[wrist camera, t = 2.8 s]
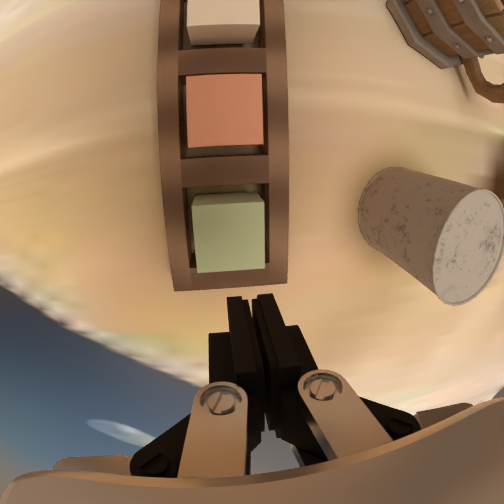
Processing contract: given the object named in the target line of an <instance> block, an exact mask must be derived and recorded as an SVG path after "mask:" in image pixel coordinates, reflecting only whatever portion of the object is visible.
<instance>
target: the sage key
mask: <svg viewBox="0 0 504 504" xmlns="http://www.w3.org/2000/svg"><path fill="white" fill-rule="evenodd" d="M191 207H192V220H193V232H194V243H195V254H196V264H197V273H206V272H221V271H235V270H249V269H263V268H265V223H264V201H263V200H262V199H261V198H260V196H259V195H258V194H257V193H256V192H235V193H217V194H202V195H195V197H194V200H193V203H192V206H191Z"/></svg>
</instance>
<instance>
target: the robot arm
mask: <svg viewBox="0 0 504 504" xmlns="http://www.w3.org/2000/svg"><path fill="white" fill-rule="evenodd" d="M227 308H228V320H229V332H222V333H209V384H208V385H206V386H204V387H202V388H201V389H200V390H199V391H198V392H197V394H196V396H195V398H194V403H193V407H192V412H191V413H190V414H189V415H188V416H186V417H185V418H184V419H182V420H181V421H180V422H178V423H177V424H175V425H174V426H173V427H171V428H170V429H169V430H167V431H166V432H165V433H163V434H162V435H160V436H159V437H158V438H156V439H155V440H153V441H152V442H150V443H149V444H147V445H146V446H144V447H143V448H142V449H140V450H139V451H138V452H137V453H135V454H134V455H133V456H128V457H125V455H124V454H117V455H105V456H90V457H89V456H88V457H66V458H62V459H60V460H59V461H57V462H56V464H55V465H54V466H53V469H52V470H42V471H35V472H30V473H26V474H23V475H20V476H18V477H17V478H15V479H14V480H13V481H12V482H11V483H10V484H9V486H8V487H7V489H6V490H5V492H4V494H3V496H2V499H1V501H0V504H504V397H502V398H497V399H492V400H489V401H486V402H482V403H480V404H477V405H475V406H473V405H472V404H469V403H459V404H455V405H450V406H446V407H441V408H436V409H431V410H425V411H420V412H416V414H415V415H411V414H409V413H407V412H404V411H401V410H398V409H395V408H392V407H388V406H385V405H382V404H379V403H376V402H373V401H370V400H368V399H365V398H362V397H359V396H358V395H357V394H356V392H355V391H354V390H353V389H352V387H351V386H350V385H349V383H348V382H347V381H346V380H345V379H344V378H343V377H342V376H341V375H340V374H338V373H336V372H334V371H330V370H322V369H318V367H317V365H316V363H315V361H314V359H313V356H312V354H311V352H310V350H309V348H308V345H307V343H306V341H305V339H304V337H303V335H302V332H301V330H300V328H299V326H298V325H293V326H285V323H284V321H283V318H282V316H281V313H280V311H279V308H278V306H277V303H276V301H275V298H274V296H273V294H272V293H271V294H260V295H257V299H252V316H251V311H250V307H249V303H248V299H247V300H242V296H236V297H227ZM265 415H266V419H267V424H268V428H269V430H275V433H276V437H277V438H281V439H282V440H284V441H287V442H288V443H290V444H291V449H292V452H293V454H294V456H295V458H296V460H297V462H298V463H299V466H300V467H299V468H294V469H288V470H282V471H277V472H269V473H262V474H254V475H251V451H253V449H254V448H255V447H256V446H257V445H258V444H259V443H260V442H261V432H263V431H264V426H265V425H264V424H265V422H264V420H265Z"/></svg>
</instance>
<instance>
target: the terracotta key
mask: <svg viewBox="0 0 504 504" xmlns="http://www.w3.org/2000/svg"><path fill="white" fill-rule="evenodd" d="M186 102H187V136H188V148H191V147H205V146H223V145H250V144H263V107H262V74H218V75H200V76H187V77H186Z"/></svg>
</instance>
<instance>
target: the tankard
mask: <svg viewBox="0 0 504 504" xmlns="http://www.w3.org/2000/svg"><path fill="white" fill-rule="evenodd" d="M387 7H388V9H389V10H390V12H391V14H392V15H393V17H394V19H395V20H396V22H397V24H398V26H399V28H400V29H401V31H402V33H403V35H404V37H405V39H406V41H407V43H408V45H410V46H411V47H413V48H414V49H415V50H417V51H418V52H420V53H421V54H422V55H424V56H425V57H427V58H428V59H429V60H431V61H432V62H433V63H435V64H436V65H437V66H439V67H440V68H441V69H443V68H449V67H453V66H456V65H460V64H464V67H465V70H466V73H467V75H468V77H469V79H470V81H471V83H472V85H473V87H474V89H475V91H476V93H478V94H480V95H481V96H483V97H485V98H486V99H488V100H490V101H491V102H494V103H504V83H503V84H501V85H493V84H491V83H490V82H488V81H486V80H485V78H484V76H483V74H482V72H481V69H480V65H479V62H478V58H477V57H478V56H479V57H480V58H484V55H488V54H493V53H495V54H503V53H504V0H388V1H387Z"/></svg>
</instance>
